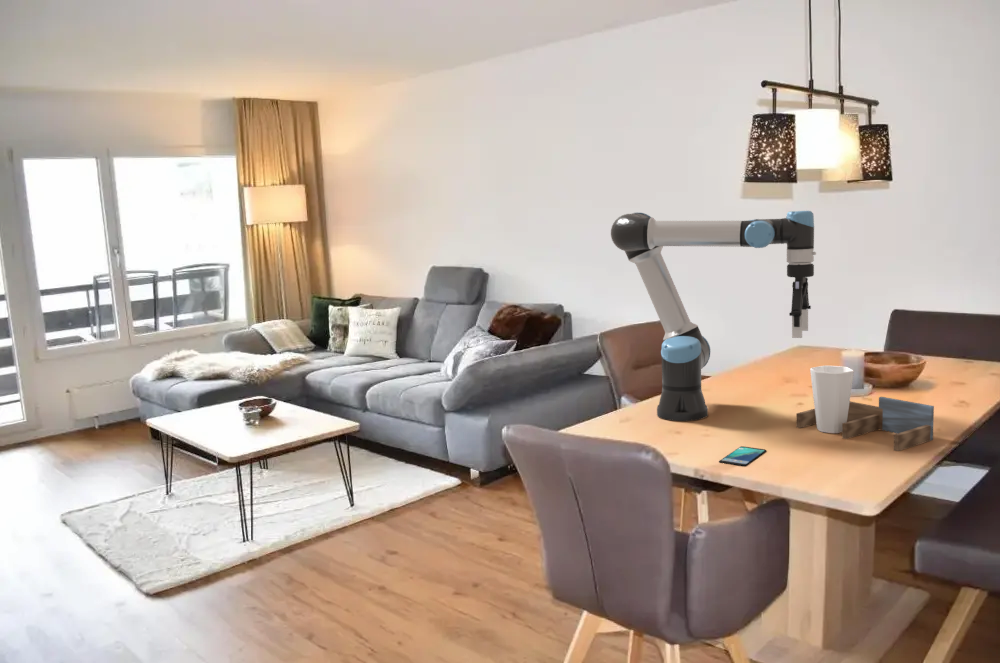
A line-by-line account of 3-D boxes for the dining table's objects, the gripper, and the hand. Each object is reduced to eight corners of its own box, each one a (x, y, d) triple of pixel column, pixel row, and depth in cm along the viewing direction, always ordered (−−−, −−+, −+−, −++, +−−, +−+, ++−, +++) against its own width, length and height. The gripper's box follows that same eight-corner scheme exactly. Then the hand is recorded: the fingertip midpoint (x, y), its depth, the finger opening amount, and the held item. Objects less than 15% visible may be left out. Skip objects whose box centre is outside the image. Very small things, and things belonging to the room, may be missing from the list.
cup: (805, 432, 226) (805, 371, 224) (814, 423, 235) (814, 364, 232) (849, 436, 220) (849, 374, 218) (856, 427, 228) (857, 367, 226)
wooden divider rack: (898, 451, 206) (898, 416, 205) (796, 427, 232) (796, 396, 230) (932, 439, 214) (933, 406, 212) (830, 417, 240) (831, 387, 238)
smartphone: (717, 461, 204) (740, 445, 216) (717, 464, 204) (740, 448, 216) (745, 465, 200) (767, 449, 212) (745, 468, 200) (767, 452, 212)
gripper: (808, 266, 231) (808, 341, 234) (818, 259, 253) (818, 328, 256) (780, 267, 234) (780, 340, 237) (793, 260, 256) (793, 327, 259)
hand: (800, 334), depth 247 cm, fingers open, 13 cm apart
